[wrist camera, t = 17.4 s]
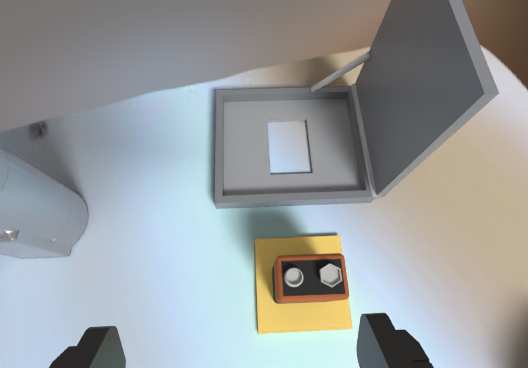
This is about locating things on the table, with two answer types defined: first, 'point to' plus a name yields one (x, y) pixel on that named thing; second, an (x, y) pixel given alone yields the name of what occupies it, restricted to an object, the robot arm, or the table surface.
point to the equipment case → (359, 114)
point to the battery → (309, 278)
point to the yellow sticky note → (295, 314)
